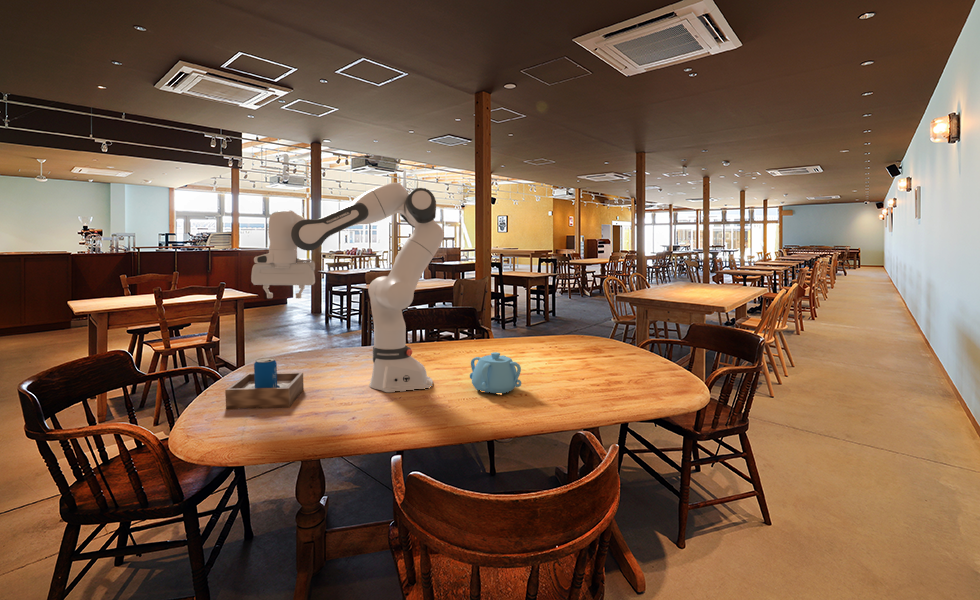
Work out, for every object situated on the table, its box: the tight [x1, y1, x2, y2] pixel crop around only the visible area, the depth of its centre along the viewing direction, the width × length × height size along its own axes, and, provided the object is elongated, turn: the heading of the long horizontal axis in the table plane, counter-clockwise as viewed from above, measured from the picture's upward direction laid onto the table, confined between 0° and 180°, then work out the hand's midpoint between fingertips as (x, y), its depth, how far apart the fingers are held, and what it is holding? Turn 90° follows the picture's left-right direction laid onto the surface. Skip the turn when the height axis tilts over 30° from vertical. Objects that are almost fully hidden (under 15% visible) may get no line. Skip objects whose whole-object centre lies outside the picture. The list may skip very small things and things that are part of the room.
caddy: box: [224, 372, 305, 410], centre depth 149 cm, size 18×18×6 cm
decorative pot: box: [469, 351, 522, 394], centre depth 163 cm, size 16×16×14 cm
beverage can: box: [253, 357, 278, 388], centre depth 148 cm, size 6×6×12 cm
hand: (284, 298), depth 160 cm, fingers open, 8 cm apart
